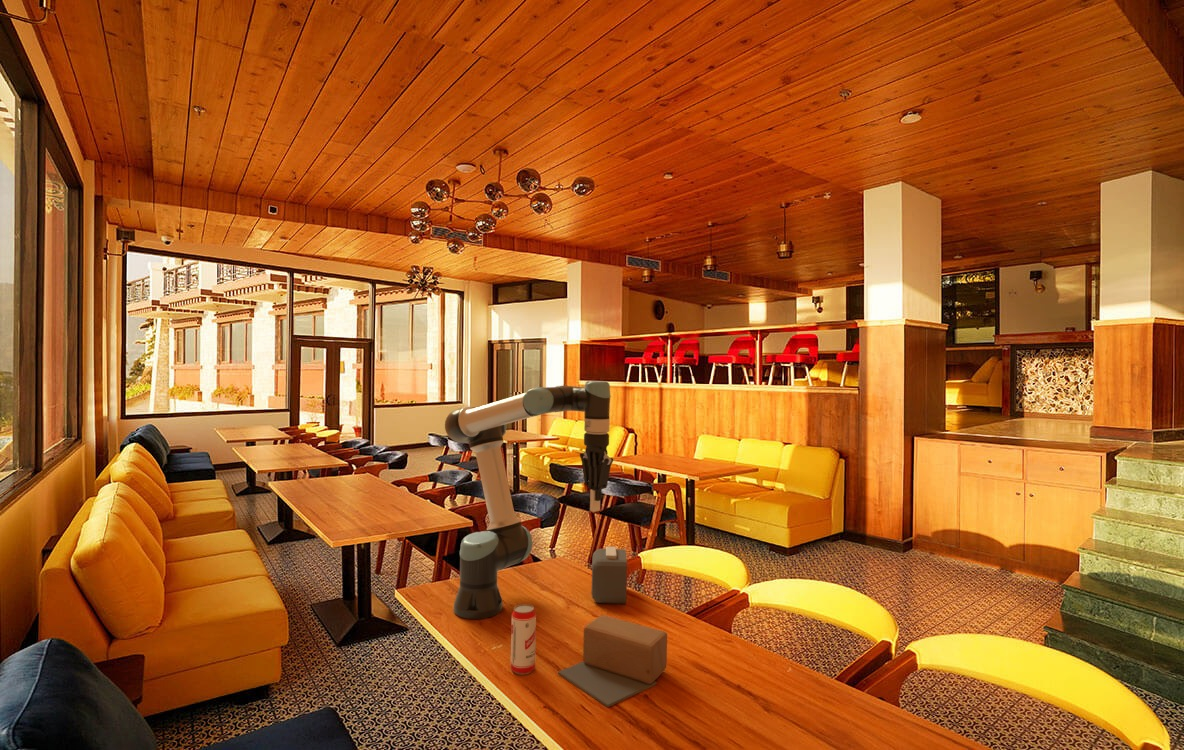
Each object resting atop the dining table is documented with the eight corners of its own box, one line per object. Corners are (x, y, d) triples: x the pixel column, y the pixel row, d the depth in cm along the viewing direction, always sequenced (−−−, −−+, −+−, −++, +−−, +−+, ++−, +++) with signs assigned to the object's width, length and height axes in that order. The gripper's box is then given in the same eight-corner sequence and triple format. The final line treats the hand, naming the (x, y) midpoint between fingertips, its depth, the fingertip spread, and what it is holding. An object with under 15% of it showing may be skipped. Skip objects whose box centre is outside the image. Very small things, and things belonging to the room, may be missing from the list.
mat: (557, 673, 156) (558, 671, 156) (605, 655, 167) (605, 652, 167) (607, 707, 142) (607, 704, 142) (656, 684, 152) (656, 682, 152)
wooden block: (581, 664, 160) (651, 686, 150) (582, 626, 160) (652, 646, 150) (600, 648, 169) (667, 669, 159) (601, 612, 169) (668, 630, 158)
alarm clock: (626, 606, 200) (627, 559, 199) (591, 605, 200) (592, 558, 199) (624, 587, 216) (625, 543, 215) (591, 587, 216) (592, 542, 215)
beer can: (539, 666, 160) (540, 605, 160) (528, 678, 154) (529, 614, 154) (517, 661, 162) (518, 601, 162) (506, 673, 156) (507, 611, 156)
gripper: (573, 431, 187) (571, 508, 188) (601, 435, 177) (599, 517, 178) (592, 429, 192) (590, 504, 193) (620, 434, 182) (618, 513, 183)
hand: (595, 510), depth 185 cm, fingers closed
